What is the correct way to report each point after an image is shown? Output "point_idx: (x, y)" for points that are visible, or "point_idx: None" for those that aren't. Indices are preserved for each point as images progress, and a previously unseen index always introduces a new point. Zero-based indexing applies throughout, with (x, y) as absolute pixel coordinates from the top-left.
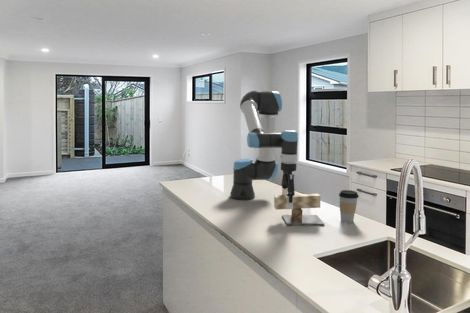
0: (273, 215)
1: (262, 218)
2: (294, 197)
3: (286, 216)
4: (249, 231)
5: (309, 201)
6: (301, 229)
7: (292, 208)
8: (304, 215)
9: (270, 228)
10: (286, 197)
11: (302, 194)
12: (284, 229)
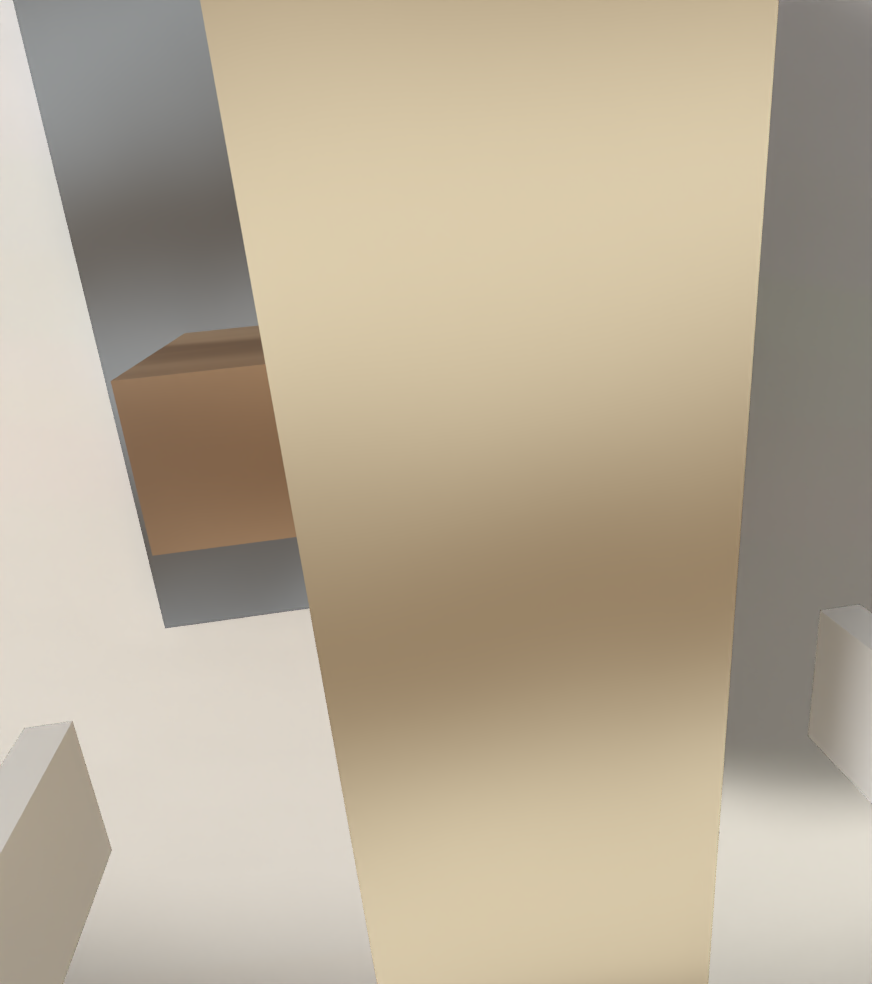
0: (117, 742)
1: (319, 879)
2: (705, 717)
3: (253, 553)
4: (838, 960)
5: None
6: (840, 329)
7: (869, 622)
8: (97, 151)
9: (757, 762)
10: (699, 975)
11: (304, 312)
12: (813, 589)
